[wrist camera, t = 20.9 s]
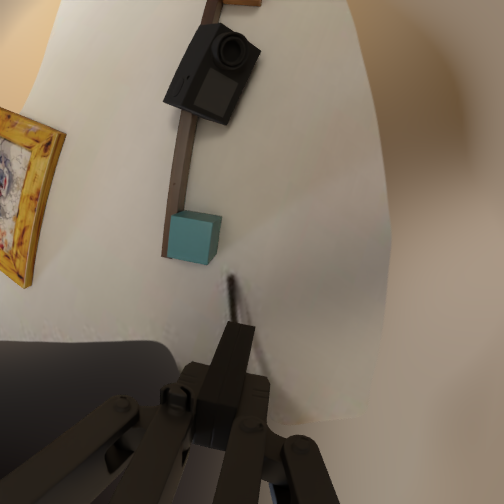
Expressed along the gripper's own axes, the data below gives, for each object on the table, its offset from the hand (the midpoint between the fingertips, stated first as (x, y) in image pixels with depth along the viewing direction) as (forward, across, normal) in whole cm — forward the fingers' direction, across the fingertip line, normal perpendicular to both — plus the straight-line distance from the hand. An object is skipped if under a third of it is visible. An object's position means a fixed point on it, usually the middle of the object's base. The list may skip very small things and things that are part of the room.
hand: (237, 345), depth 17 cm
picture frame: (+25, -50, +2) cm, 56 cm away
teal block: (+24, -9, 0) cm, 26 cm away
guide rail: (+24, -12, +18) cm, 32 cm away
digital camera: (+23, -7, +19) cm, 30 cm away
